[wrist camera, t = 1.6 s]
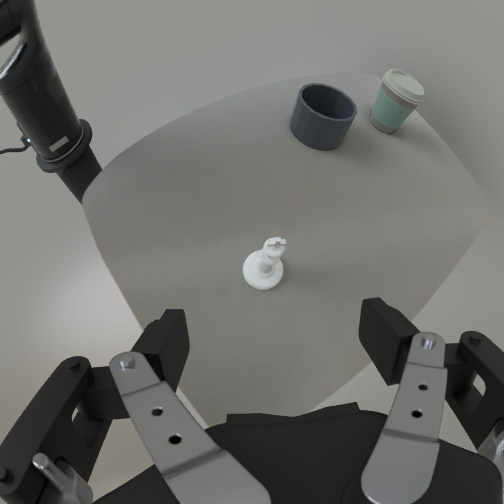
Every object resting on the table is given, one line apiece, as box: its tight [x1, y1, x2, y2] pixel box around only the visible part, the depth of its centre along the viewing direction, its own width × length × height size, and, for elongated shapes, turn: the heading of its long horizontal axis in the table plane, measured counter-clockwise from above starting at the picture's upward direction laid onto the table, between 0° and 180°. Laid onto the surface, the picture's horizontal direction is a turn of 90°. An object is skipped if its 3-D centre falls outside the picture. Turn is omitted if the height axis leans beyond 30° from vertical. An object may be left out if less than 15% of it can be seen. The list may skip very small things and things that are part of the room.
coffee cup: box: [369, 69, 425, 133], centre depth 41 cm, size 8×8×12 cm
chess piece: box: [243, 237, 286, 290], centre depth 29 cm, size 5×5×10 cm
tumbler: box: [290, 83, 357, 150], centre depth 40 cm, size 9×9×7 cm
